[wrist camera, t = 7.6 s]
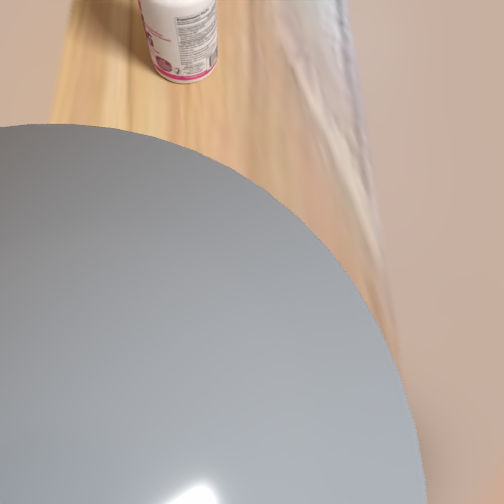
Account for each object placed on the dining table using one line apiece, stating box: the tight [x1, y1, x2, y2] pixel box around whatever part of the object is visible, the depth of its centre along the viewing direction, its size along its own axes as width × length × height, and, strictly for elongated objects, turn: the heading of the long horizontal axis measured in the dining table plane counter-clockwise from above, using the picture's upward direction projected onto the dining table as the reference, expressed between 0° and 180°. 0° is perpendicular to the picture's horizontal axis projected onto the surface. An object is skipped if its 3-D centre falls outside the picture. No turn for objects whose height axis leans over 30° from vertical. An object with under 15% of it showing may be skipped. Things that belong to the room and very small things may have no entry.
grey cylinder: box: [0, 124, 427, 504], centre depth 9 cm, size 6×6×13 cm
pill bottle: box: [138, 0, 218, 84], centre depth 24 cm, size 5×5×8 cm
